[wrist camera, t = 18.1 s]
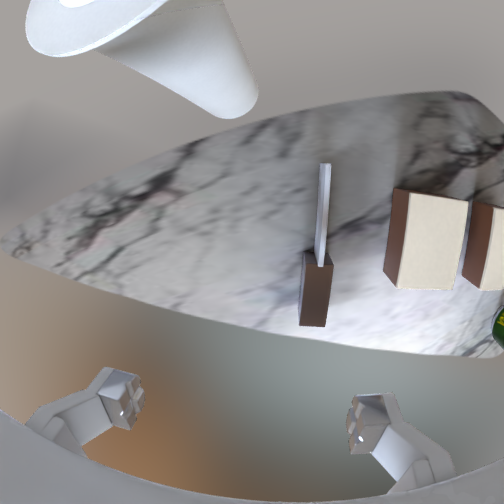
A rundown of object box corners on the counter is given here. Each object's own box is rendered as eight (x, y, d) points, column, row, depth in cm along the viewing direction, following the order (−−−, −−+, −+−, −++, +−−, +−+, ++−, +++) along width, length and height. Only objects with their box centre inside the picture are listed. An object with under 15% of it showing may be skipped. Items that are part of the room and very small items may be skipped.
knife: (308, 162, 23) (312, 161, 19) (335, 164, 22) (344, 164, 19) (298, 308, 26) (299, 330, 23) (321, 309, 26) (325, 331, 23)
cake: (393, 187, 22) (411, 192, 18) (445, 195, 22) (468, 201, 18) (382, 271, 24) (397, 289, 21) (433, 273, 24) (452, 290, 20)
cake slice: (472, 201, 21) (496, 208, 18) (494, 204, 21) (517, 211, 17) (461, 275, 24) (481, 291, 20) (482, 275, 23) (502, 290, 19)
